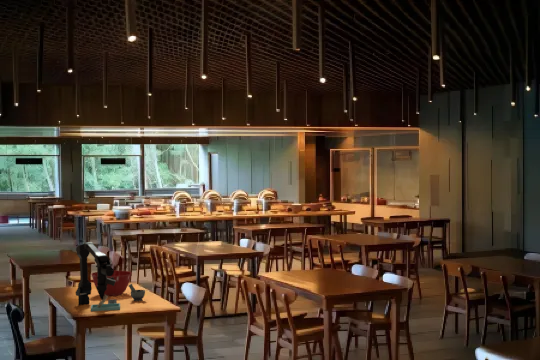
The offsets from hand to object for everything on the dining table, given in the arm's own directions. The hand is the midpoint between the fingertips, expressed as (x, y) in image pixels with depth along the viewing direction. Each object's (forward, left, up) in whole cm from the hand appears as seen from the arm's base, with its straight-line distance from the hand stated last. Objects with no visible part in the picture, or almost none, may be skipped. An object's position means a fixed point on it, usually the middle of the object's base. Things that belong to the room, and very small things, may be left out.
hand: (102, 299), depth 453 cm
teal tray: (+2, 0, -7) cm, 7 cm away
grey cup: (+6, +10, -7) cm, 13 cm away
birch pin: (-1, 0, -6) cm, 6 cm away
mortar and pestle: (+22, +24, -7) cm, 33 cm away
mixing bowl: (+5, +55, -7) cm, 56 cm away
